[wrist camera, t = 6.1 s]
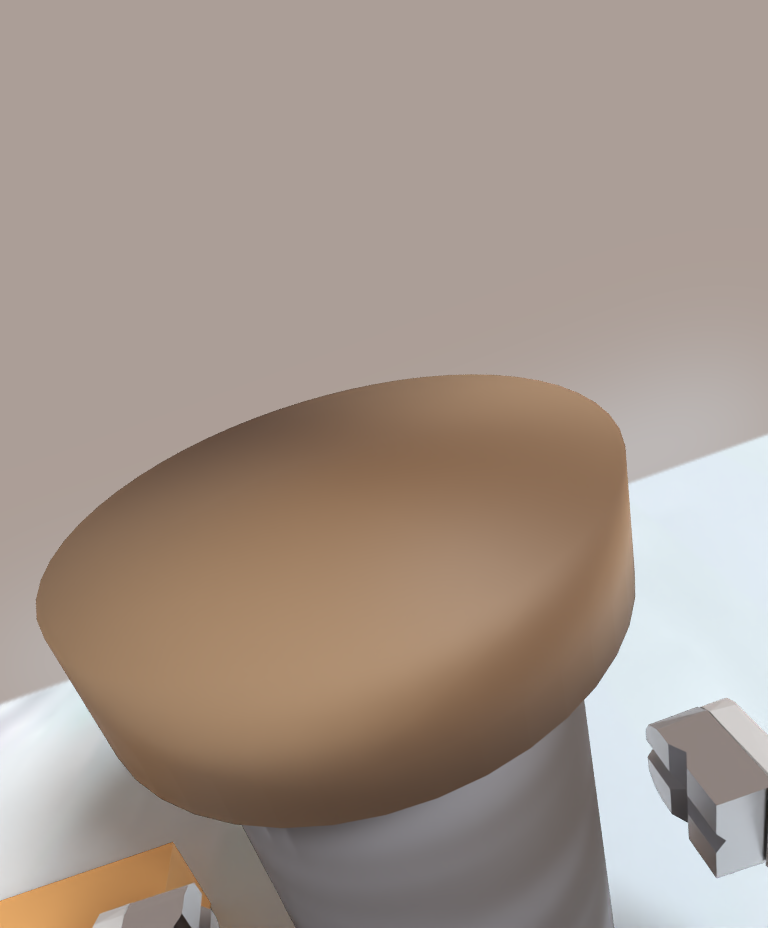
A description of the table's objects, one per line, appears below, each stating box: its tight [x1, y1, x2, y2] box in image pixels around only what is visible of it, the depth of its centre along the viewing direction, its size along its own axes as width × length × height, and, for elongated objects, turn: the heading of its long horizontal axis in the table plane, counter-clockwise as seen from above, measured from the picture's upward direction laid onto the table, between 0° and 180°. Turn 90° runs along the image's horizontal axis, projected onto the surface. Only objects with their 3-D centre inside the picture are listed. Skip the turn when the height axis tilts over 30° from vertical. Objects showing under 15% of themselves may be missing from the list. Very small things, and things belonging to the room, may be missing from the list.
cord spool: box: [36, 374, 635, 928], centre depth 10 cm, size 6×6×15 cm
